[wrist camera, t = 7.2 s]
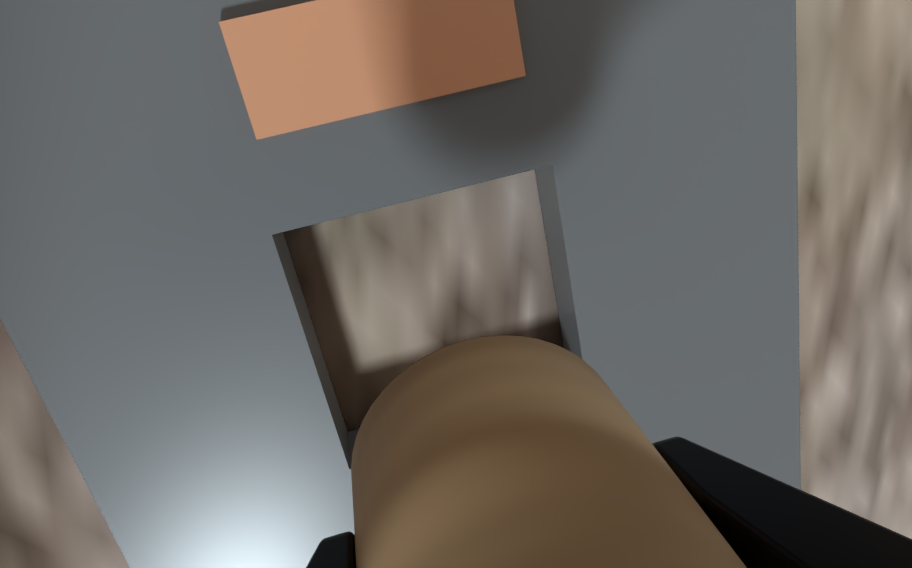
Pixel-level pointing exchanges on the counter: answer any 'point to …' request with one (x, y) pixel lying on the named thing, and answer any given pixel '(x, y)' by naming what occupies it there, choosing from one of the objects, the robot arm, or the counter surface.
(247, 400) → the hole plate
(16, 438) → the counter surface
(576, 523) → the peg
